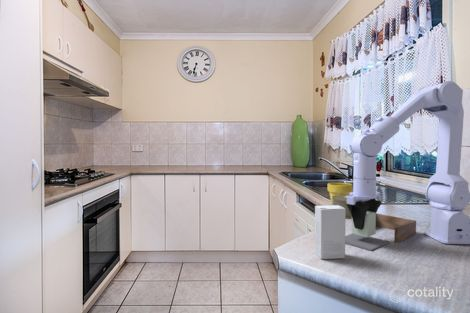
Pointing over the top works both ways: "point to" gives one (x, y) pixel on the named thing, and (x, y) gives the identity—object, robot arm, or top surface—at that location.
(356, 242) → the charcoal mat
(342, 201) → the can
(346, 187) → the plant pot
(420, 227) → the top surface
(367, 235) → the sage block
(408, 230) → the walnut u-shaped frame
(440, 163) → the robot arm
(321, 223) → the skincare box
